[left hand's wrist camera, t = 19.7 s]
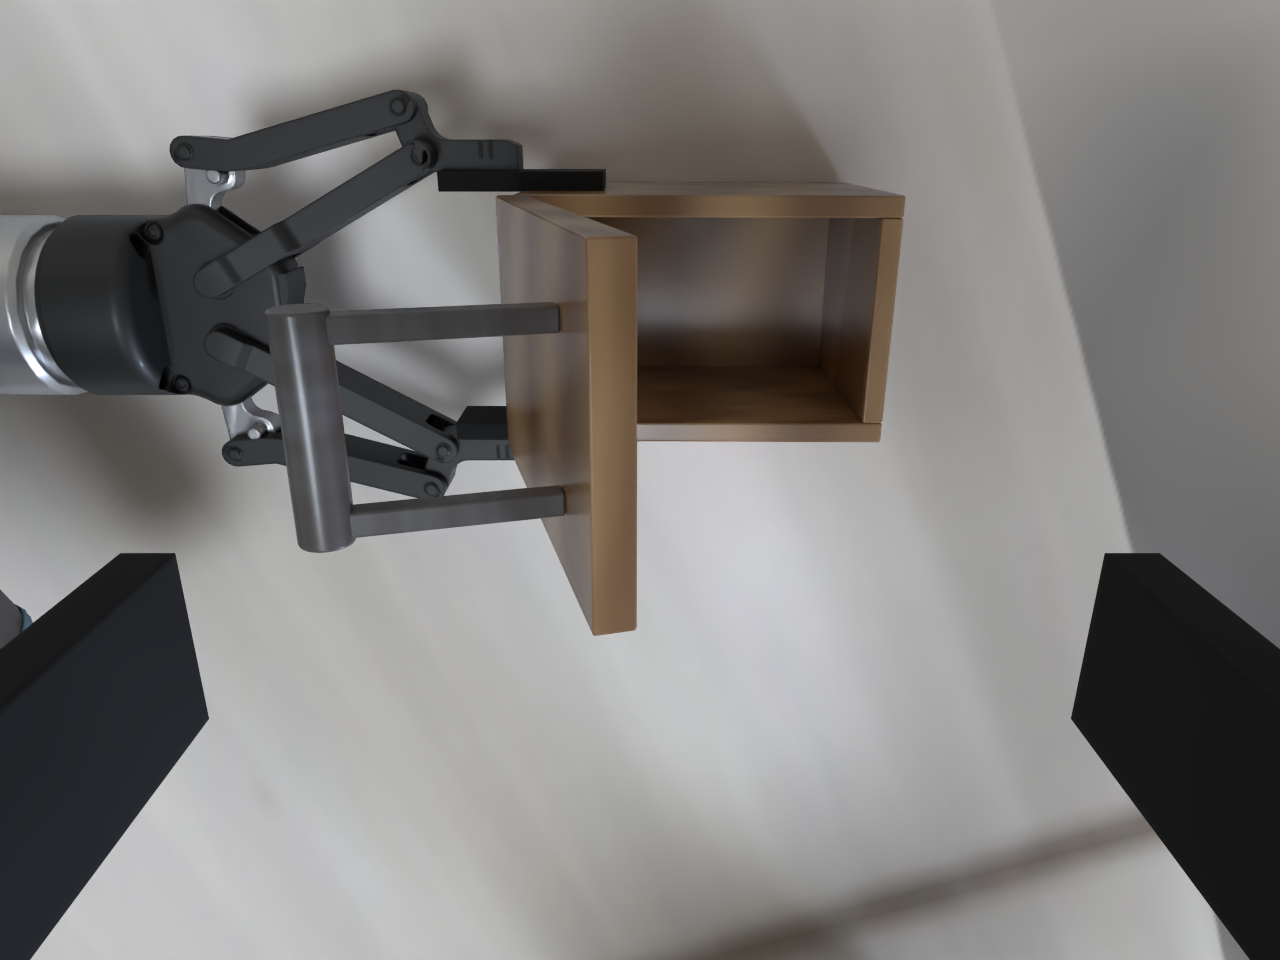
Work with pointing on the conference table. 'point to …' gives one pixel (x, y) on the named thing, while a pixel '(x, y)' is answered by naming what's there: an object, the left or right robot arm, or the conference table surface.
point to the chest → (757, 305)
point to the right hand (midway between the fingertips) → (606, 307)
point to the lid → (535, 399)
